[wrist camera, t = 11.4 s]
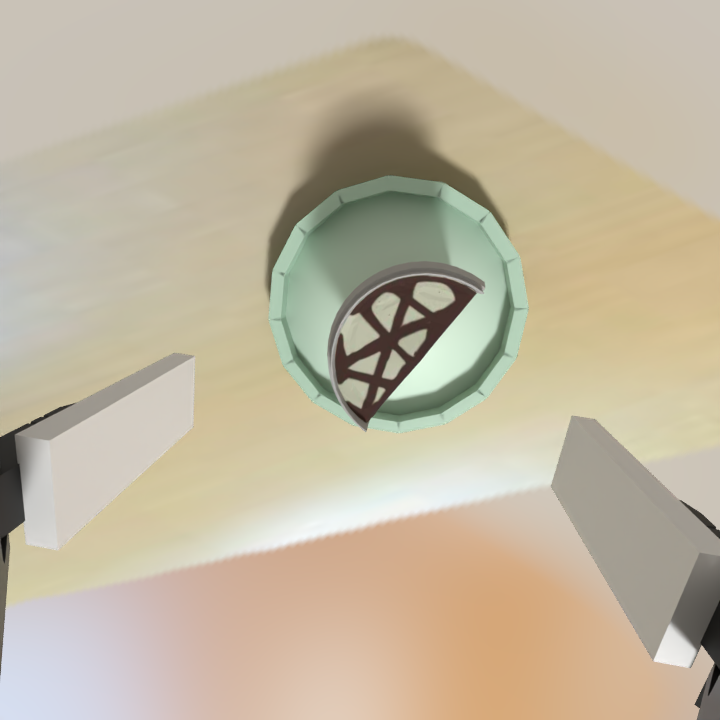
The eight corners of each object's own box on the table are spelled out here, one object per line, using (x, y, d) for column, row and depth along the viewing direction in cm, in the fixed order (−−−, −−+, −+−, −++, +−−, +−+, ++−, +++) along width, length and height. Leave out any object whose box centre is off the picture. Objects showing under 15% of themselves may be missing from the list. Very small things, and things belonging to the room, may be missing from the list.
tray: (270, 399, 40) (261, 410, 38) (289, 165, 34) (280, 160, 32) (488, 436, 39) (493, 449, 37) (545, 200, 33) (556, 197, 31)
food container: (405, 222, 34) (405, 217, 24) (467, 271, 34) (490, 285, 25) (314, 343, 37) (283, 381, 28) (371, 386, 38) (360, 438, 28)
